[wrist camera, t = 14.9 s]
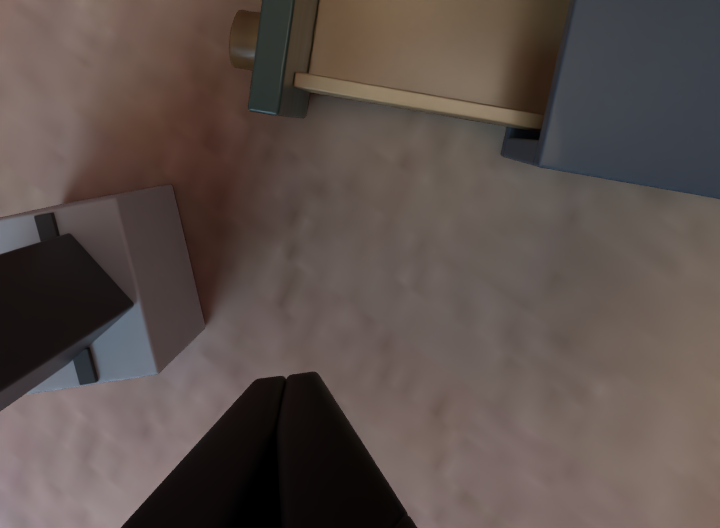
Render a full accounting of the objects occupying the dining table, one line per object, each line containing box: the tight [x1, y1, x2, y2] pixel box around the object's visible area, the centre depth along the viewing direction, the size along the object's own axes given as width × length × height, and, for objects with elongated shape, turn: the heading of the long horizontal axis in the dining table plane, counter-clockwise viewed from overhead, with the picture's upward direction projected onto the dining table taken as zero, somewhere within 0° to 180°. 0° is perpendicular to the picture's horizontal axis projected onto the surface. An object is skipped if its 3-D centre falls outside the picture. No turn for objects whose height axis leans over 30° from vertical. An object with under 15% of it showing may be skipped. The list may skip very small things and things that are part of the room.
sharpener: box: [0, 184, 205, 411], centre depth 16 cm, size 5×4×14 cm
